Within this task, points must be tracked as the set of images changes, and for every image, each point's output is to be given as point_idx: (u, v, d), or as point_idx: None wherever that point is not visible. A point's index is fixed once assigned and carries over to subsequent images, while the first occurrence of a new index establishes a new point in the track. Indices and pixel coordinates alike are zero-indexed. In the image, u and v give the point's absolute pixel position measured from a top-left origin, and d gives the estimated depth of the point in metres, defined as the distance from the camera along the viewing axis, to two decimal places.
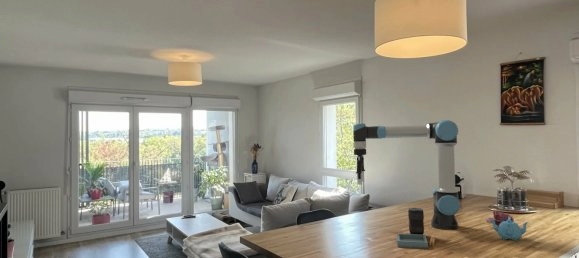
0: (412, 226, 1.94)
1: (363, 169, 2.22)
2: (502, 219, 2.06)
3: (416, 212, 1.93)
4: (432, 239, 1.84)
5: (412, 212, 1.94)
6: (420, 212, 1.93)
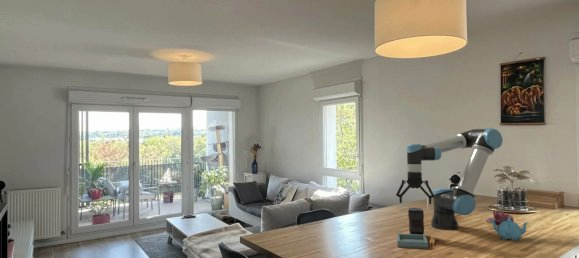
0: (412, 226, 1.94)
1: None
2: (502, 219, 2.06)
3: (416, 212, 1.93)
4: (432, 239, 1.84)
5: (412, 212, 1.94)
6: (420, 212, 1.93)
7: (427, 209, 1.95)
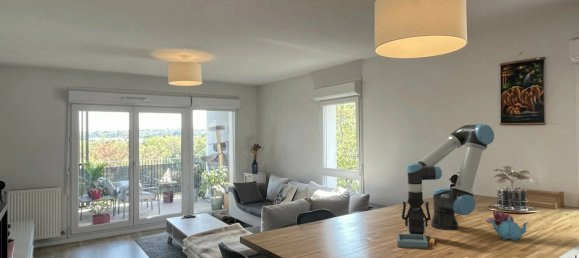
0: (412, 226, 1.94)
1: (424, 218, 1.94)
2: (502, 219, 2.06)
3: (416, 212, 1.93)
4: (432, 239, 1.84)
5: (412, 212, 1.94)
6: (420, 212, 1.93)
7: None
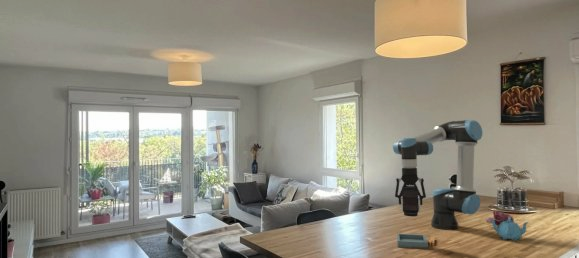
0: (406, 204, 1.81)
1: None
2: (502, 219, 2.06)
3: (410, 189, 1.80)
4: (432, 239, 1.84)
5: (406, 189, 1.81)
6: (414, 189, 1.80)
7: (418, 210, 1.82)
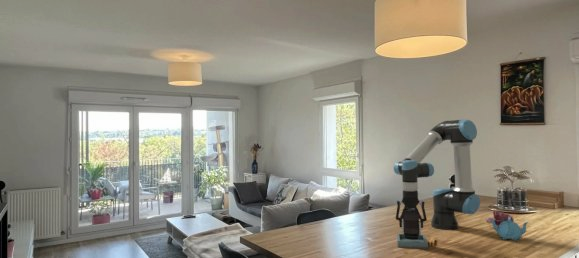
0: (407, 228, 1.80)
1: None
2: (502, 219, 2.06)
3: (411, 212, 1.79)
4: (432, 239, 1.84)
5: (407, 212, 1.80)
6: (415, 212, 1.80)
7: (419, 233, 1.82)
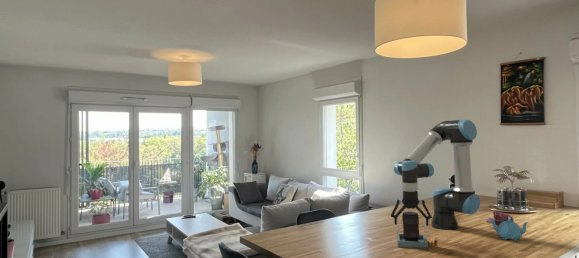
0: (407, 231, 1.80)
1: None
2: (502, 219, 2.06)
3: (410, 216, 1.80)
4: (432, 239, 1.84)
5: (406, 216, 1.81)
6: (415, 216, 1.80)
7: (424, 231, 1.81)
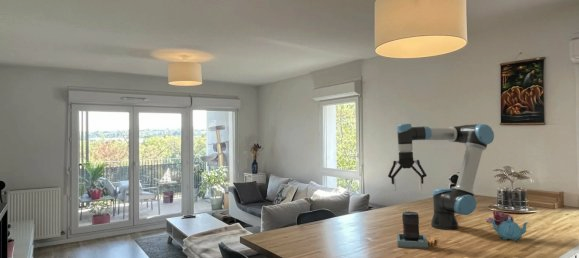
0: (407, 231, 1.80)
1: (419, 175, 1.92)
2: (502, 219, 2.06)
3: (410, 216, 1.80)
4: (432, 239, 1.84)
5: (406, 216, 1.81)
6: (415, 216, 1.80)
7: None
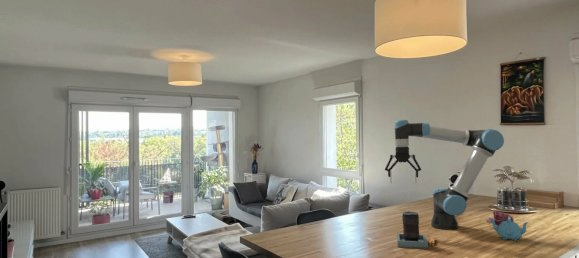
0: (407, 231, 1.80)
1: (414, 169, 2.03)
2: (502, 219, 2.06)
3: (410, 216, 1.80)
4: (432, 239, 1.84)
5: (406, 216, 1.81)
6: (415, 216, 1.80)
7: None
